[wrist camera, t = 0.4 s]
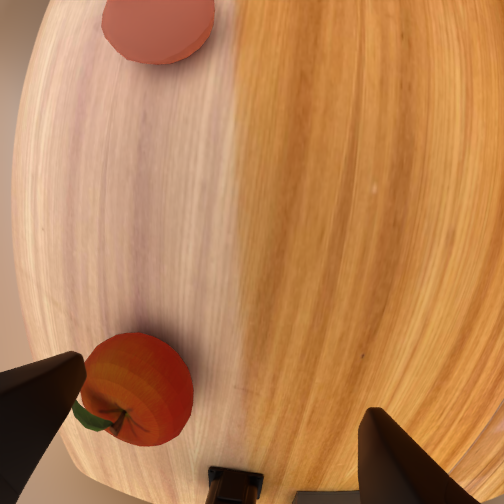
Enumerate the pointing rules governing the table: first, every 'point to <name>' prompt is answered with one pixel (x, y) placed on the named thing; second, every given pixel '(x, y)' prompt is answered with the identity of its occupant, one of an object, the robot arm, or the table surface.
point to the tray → (327, 497)
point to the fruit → (136, 390)
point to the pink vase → (157, 28)
